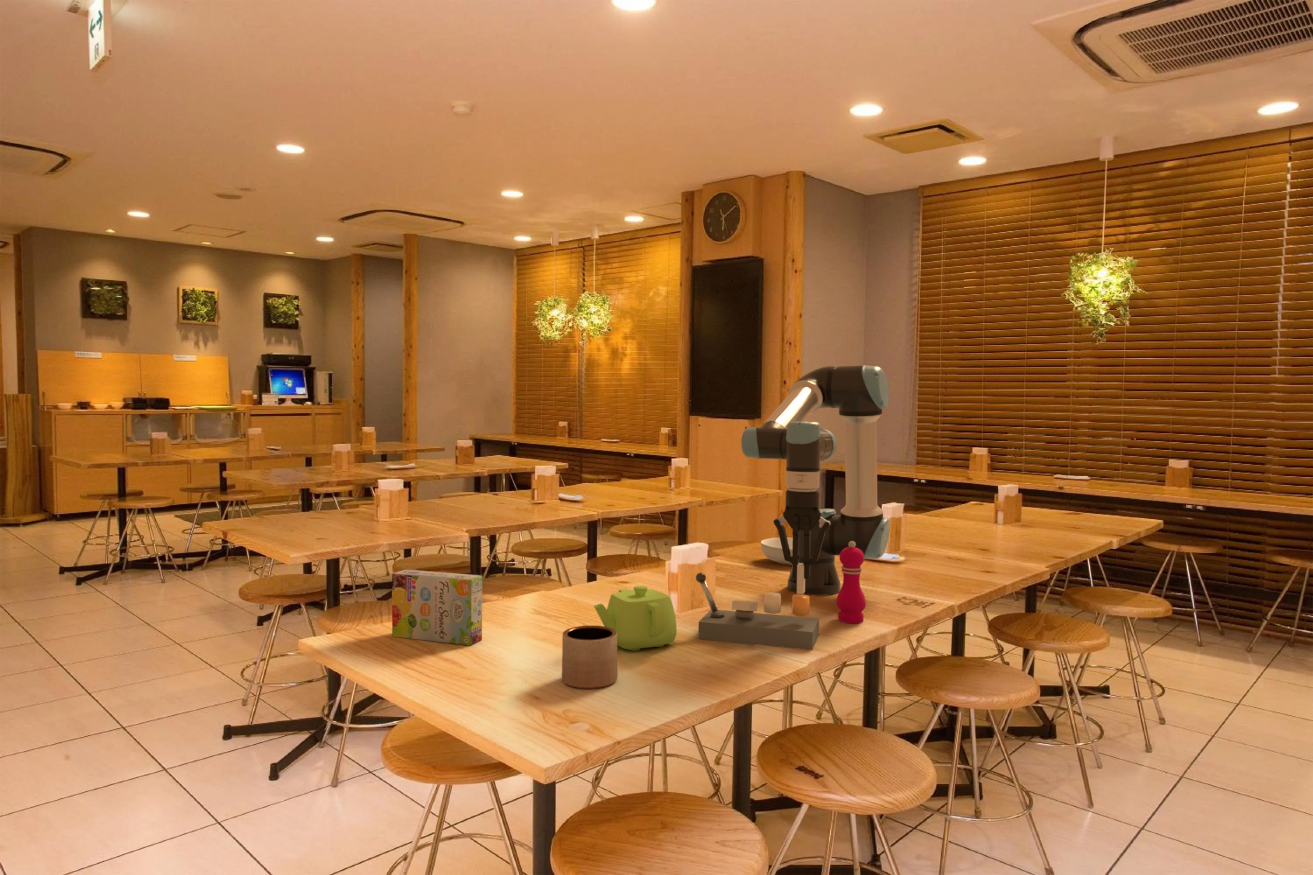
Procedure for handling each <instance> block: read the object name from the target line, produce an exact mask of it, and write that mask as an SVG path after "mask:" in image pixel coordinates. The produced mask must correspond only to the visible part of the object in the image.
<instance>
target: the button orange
mask: <svg viewBox="0 0 1313 875" xmlns="http://www.w3.org/2000/svg"><path fill="white" fill-rule="evenodd" d="M791 600H792V601H791V602H792V609H791V612H792V616H797V617H807V616H809V615H810V596H809V595H808V594H793V595H792V599H791Z"/></svg>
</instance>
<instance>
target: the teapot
mask: <svg viewBox="0 0 1313 875" xmlns="http://www.w3.org/2000/svg"><path fill="white" fill-rule="evenodd" d="M593 607H594V609H595V611H596V613H597V615H598V616H599V619H600V621H601V623H602V626H605V627H609V628H612V629H614V630H616V631H617V647H619V648H622V649H623V650H629V651H634V652H635V651H636V652H637V651H640V650H641V649H646V648H653V647H656V648H662V647H664V646H665V645H668V644H672V643H674V641H675V639H676V636H677V620H676V612H675V609H674V605H673V601H672V599H671V596H670V595H668V594H666V593H663V592H661V591H660V590H657V589H653V588H649V587H648V586H646V585H635V586H633V590H631V589H629V588H623V589H618V592H613V593H611V594H610V598H609V601H608V605H607V607H606V606H605V604H603V603H598V604H594V606H593Z"/></svg>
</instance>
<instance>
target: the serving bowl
mask: <svg viewBox="0 0 1313 875" xmlns="http://www.w3.org/2000/svg"><path fill="white" fill-rule="evenodd" d="M787 540H788V544H789V549H790V553H791V556H792V547H793V537H787ZM760 547H761V551H762V553H763V554H764V556H765V557H766V558H767V559H769V560H770V561H773V562H775V563H778V564H780V563H782V564H781V565H784V564H789V565H788V566H792V563H791V562H789V561H785V559H784V555H783V550H782V546H781V541H780V537H770V538H765V539H762V540H761V541H760Z"/></svg>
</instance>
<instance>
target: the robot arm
mask: <svg viewBox="0 0 1313 875" xmlns="http://www.w3.org/2000/svg"><path fill="white" fill-rule="evenodd" d="M889 389H890V388H889V384H888V379H887V375H886V373H885V372H884V370H883V368H881V367H879V366H876V365H875V366H874V365H847V366H846V365H841V366H840V365H838V366H834V365H831V366H830V365H829V366H827V365H826V366H822V367H819V368H815V369H813V370H811V371H810V372H808V373H805V375H803V376H801V377H800V378H798V379H797V380H796V381H795V382H794V383H793V384H792V385H791V387H790V388H789V390H788V391H789V392H788V395H787V397H785V398H784V399H783V401H782V402H781V403H780V404H779V405H778V406H777V408H776V409H775V410H774V411H773V412H772V413H771V414H770V416H769V417H768V418H767V419H766V420H765V421H764V423H763V424H762V425H761V426H760V427H757V426H754V427H747V428H745V429H744V430H743V432H742V434H741V440H740V443H741V444H740V446H741V451H742V453H743V455H744V456H745V457H746V458H752V459H758V460H763V459H767V460H768V459H769V460H785V461H786V463H785V465H786V467H785V487H786V488H787V489H786V491H785V509H784V511H783V513H782V515H781V516H779V517H777V518H775V519H774V520H773V524H774V526H775V528H776V529H777V531H778V532H777V533H778V536H779V537H778V538H780V541H781V546H782V550H783V555H784V559H785V561H789V562H791V563H792V565H791V566H792V567H791V569H790V573H789V576H788V578H787V589H788V590H789V591H792V592H793V593H796V595H812V596H813V595H817V596H818V595H819V596H820V595H822V596H823V595H833V594H837V593H839V592H840V590H841V580H840V577H839V574H838V570H837V567H836V565H835V564H836V562H835V559H836V558H835V557H836V556H838V557H840V553H841V551H842V550H843V549H845V548H847V547H849V545H848V544H849V542H850V541H854V542H855V544H856V546H855V548H858V549H860V550H861V551H862V552H863V554H864V560H878V559H880V558H882V556H883V557H884V554H885V552H886V549H887V546H888V543H889V537H890V530H891V524H890V520H889V519H888V518H887V517H884V511H883V509H882V508H881V507H880V506H879V505H878V445H877V442H878V440H877V439H878V438H877V435H878V433H877V432H878V431H877V430H878V429H877V426H878V425H877V422H878V419H880V418H881V417H882V415H883V410H885V409H887V408H888V406H889V404H890V403H889V401H890V390H889ZM824 408H825V409H830V408H831V409H838V416H839V417H840V418H841V419H842V420H843V422H844V451H845V452H844V455H845V456H844V458H845V460H844V464H845V465H844V466H845V469H844V470H845V506H843V507H842V508H841V509H840V514H837V512H836V510H835V509H834V508H820V492H819V490H818V489H819V488H820V476H821V475H820V474H821V473H820V467H821V465H820V464H821V462H823V461H825V460H827V459H829V458H831V457H832V456H833V455H834V454H835V452H836V450H837V447H838V446H837V445H838V444H837V443H838V442H837V439H836V436H835V435H834V434H833V432H832V431H830V430H828V429H825V428H822V427H821V424H820V423H819V422H818V421H817V422H816V421H805V420H806V419H807V418H808V417H809V415H810V414H812V413H815V412H816V411H818V410H819V409H824ZM786 523H787V524H788V525H789V527H790V528H791V530H792V532H791V534H792V538H793V547H792V556H791V553H790V549H789V544H788V540H787V538H788V536H787V531H786V528H785V525H786Z"/></svg>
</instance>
